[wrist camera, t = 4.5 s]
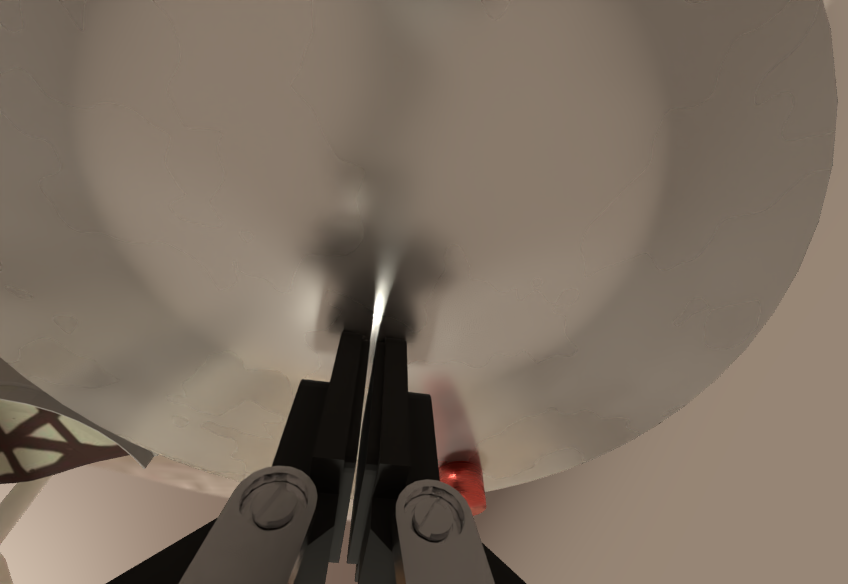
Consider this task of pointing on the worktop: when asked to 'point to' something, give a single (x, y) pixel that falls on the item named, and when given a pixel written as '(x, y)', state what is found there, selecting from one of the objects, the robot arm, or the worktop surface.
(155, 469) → the worktop surface
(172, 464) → the worktop surface
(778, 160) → the cooker lid
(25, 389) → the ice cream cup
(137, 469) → the worktop surface
